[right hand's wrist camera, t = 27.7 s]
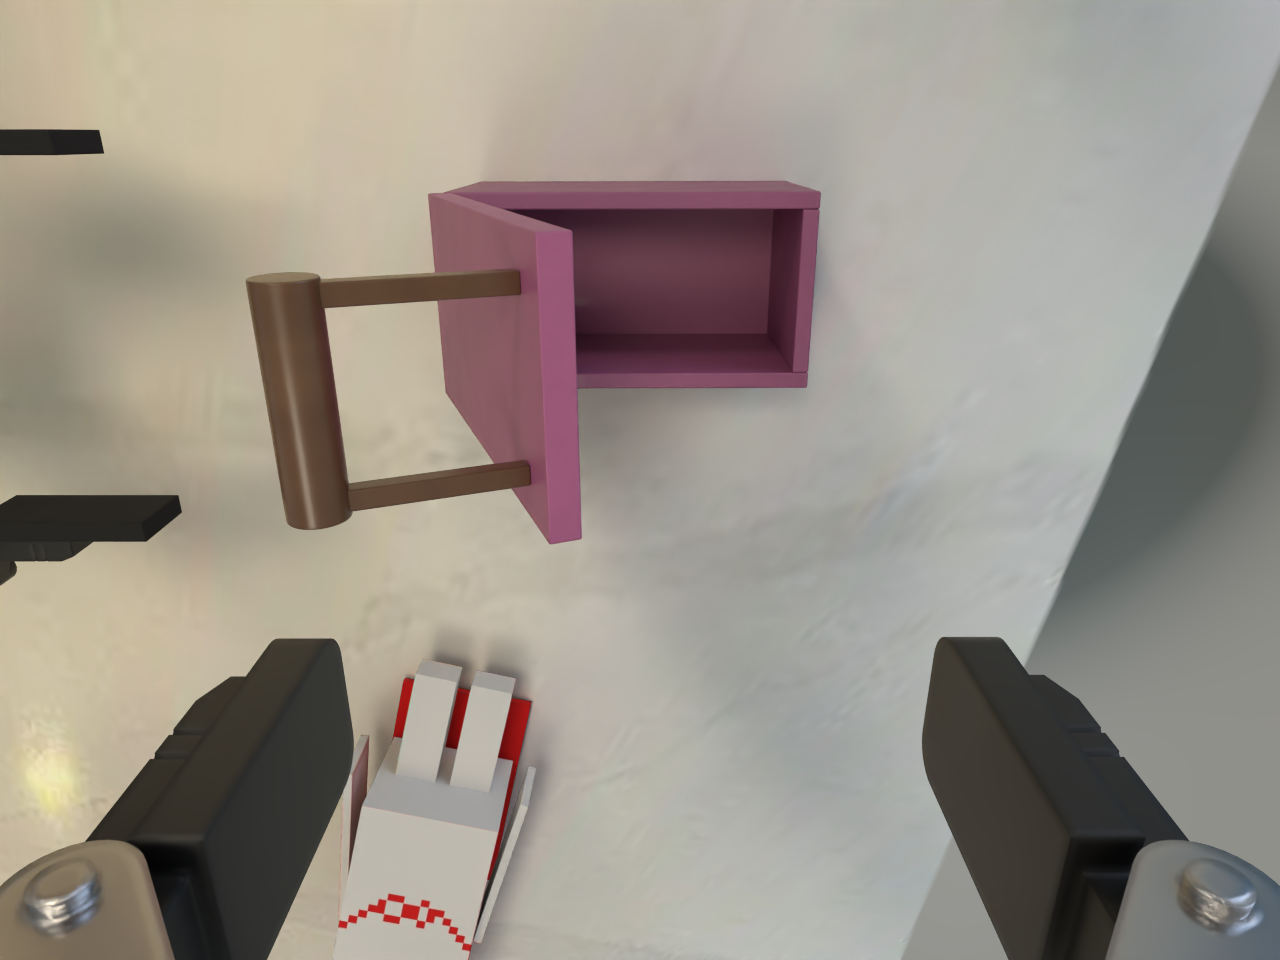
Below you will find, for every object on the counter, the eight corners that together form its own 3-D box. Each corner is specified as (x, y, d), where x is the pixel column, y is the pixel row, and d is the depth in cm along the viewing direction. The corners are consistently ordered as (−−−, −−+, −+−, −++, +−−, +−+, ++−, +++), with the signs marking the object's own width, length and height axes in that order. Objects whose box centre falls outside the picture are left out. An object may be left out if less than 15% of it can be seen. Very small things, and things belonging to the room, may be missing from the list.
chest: (786, 181, 49) (821, 191, 40) (777, 343, 52) (807, 388, 43) (479, 181, 49) (442, 192, 40) (491, 343, 52) (458, 388, 43)
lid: (573, 230, 23) (234, 244, 21) (582, 539, 27) (293, 589, 24) (451, 192, 39) (250, 197, 36) (467, 391, 43) (284, 410, 40)
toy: (548, 739, 52) (452, 1126, 58) (561, 644, 65) (482, 969, 71) (346, 698, 51) (273, 1096, 57) (401, 610, 64) (336, 943, 70)
